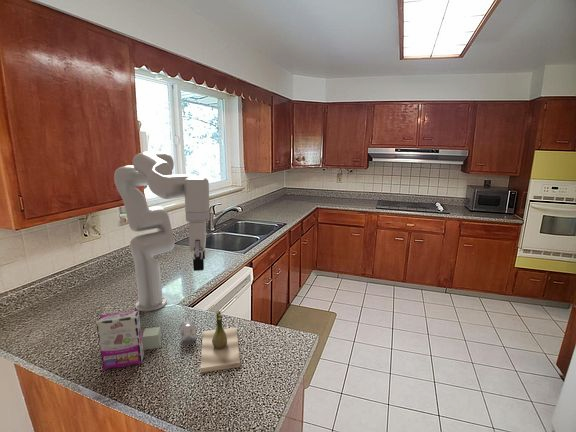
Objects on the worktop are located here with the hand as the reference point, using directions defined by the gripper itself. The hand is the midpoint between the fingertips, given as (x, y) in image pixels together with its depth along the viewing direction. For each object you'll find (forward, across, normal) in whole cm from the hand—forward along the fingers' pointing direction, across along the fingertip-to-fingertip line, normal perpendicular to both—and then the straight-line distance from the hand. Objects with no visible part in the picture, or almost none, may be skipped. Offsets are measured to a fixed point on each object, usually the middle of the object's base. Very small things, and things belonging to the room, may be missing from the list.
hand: (199, 264), depth 106 cm
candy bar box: (+29, +8, -24) cm, 38 cm away
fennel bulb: (+27, +8, +6) cm, 29 cm away
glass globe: (+28, 0, -5) cm, 29 cm away
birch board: (+28, +8, +6) cm, 30 cm away
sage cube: (+29, 0, -17) cm, 33 cm away
